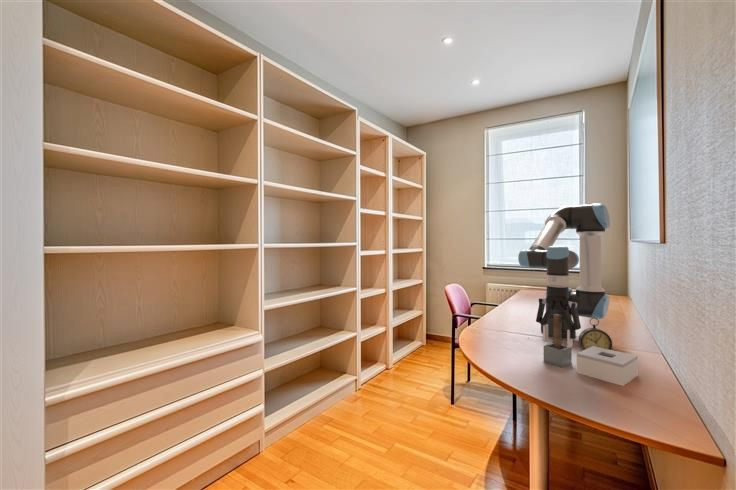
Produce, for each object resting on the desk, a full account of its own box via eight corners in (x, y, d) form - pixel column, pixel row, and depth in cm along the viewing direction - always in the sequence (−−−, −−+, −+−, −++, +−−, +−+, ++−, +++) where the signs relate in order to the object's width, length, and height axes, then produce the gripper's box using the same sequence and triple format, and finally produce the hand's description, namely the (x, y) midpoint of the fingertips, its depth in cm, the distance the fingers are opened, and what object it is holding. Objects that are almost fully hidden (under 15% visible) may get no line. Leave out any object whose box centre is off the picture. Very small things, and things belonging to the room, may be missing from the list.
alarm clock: (581, 358, 137) (581, 318, 137) (577, 354, 143) (577, 315, 142) (612, 361, 134) (612, 320, 134) (607, 356, 139) (607, 317, 139)
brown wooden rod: (555, 359, 135) (555, 313, 135) (562, 361, 133) (562, 315, 133) (551, 360, 133) (551, 314, 133) (559, 362, 131) (559, 316, 131)
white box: (592, 364, 131) (593, 346, 131) (637, 375, 120) (637, 355, 120) (576, 372, 123) (576, 353, 123) (622, 385, 112) (623, 364, 112)
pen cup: (552, 358, 138) (552, 342, 138) (571, 363, 132) (571, 347, 132) (543, 361, 134) (543, 345, 134) (562, 367, 128) (562, 350, 128)
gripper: (526, 283, 139) (526, 339, 139) (583, 289, 122) (583, 352, 122) (535, 282, 144) (535, 336, 144) (592, 288, 126) (591, 348, 127)
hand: (557, 343), depth 133 cm, fingers open, 8 cm apart
